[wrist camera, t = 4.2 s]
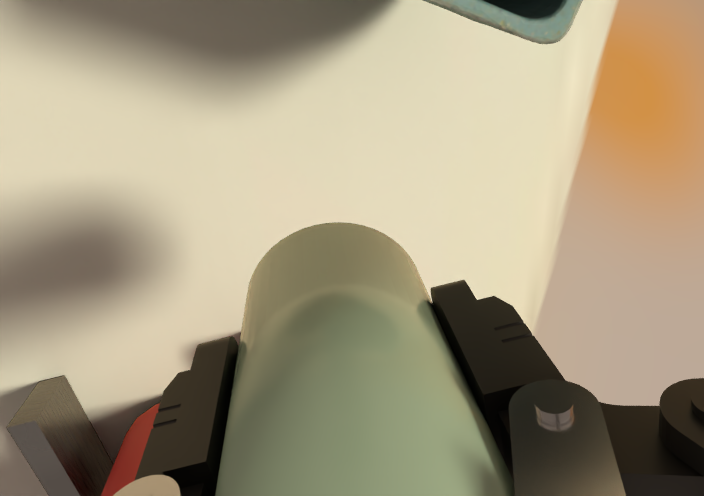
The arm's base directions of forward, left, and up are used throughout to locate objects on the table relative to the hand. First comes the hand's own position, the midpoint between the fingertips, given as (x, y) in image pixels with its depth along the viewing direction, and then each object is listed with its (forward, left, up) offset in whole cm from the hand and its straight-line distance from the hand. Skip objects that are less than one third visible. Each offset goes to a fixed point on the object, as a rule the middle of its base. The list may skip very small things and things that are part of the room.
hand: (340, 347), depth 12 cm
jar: (0, 0, -2) cm, 2 cm away
